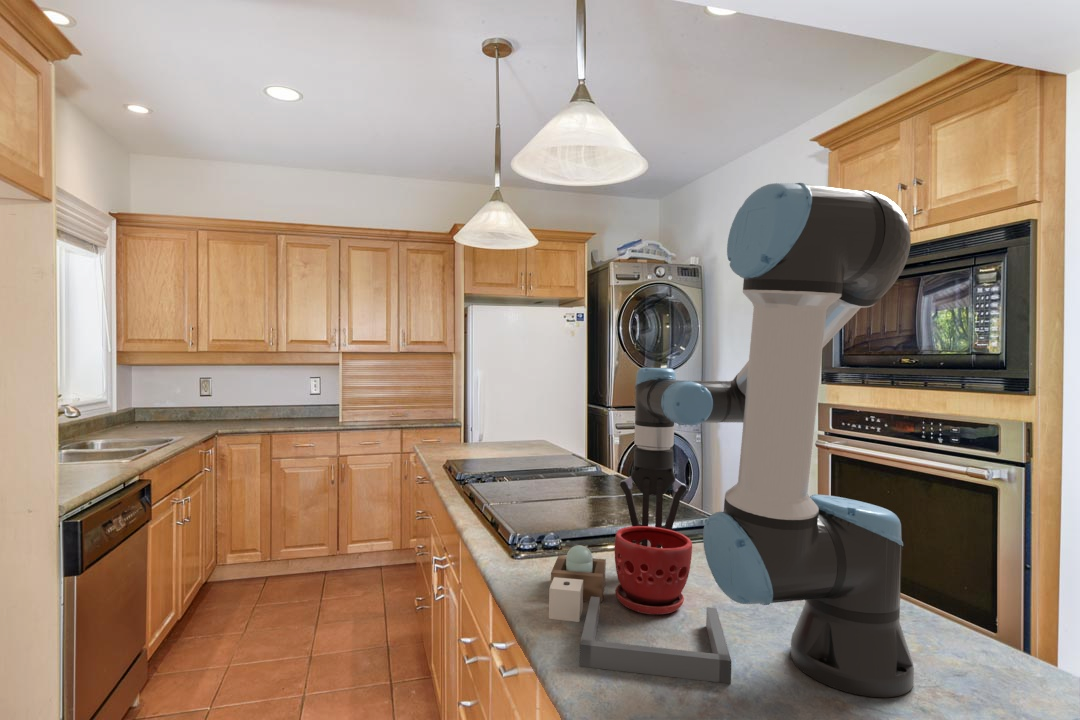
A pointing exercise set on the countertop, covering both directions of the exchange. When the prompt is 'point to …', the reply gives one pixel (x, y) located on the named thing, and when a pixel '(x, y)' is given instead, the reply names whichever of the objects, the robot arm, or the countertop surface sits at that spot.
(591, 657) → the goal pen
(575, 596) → the cream cube with hole
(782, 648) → the countertop surface
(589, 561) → the dome button
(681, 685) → the countertop surface
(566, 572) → the button box
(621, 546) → the plant pot
